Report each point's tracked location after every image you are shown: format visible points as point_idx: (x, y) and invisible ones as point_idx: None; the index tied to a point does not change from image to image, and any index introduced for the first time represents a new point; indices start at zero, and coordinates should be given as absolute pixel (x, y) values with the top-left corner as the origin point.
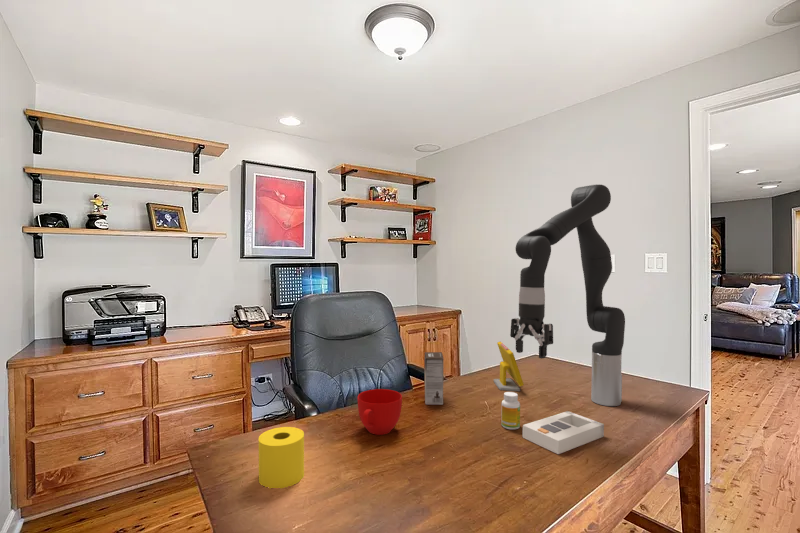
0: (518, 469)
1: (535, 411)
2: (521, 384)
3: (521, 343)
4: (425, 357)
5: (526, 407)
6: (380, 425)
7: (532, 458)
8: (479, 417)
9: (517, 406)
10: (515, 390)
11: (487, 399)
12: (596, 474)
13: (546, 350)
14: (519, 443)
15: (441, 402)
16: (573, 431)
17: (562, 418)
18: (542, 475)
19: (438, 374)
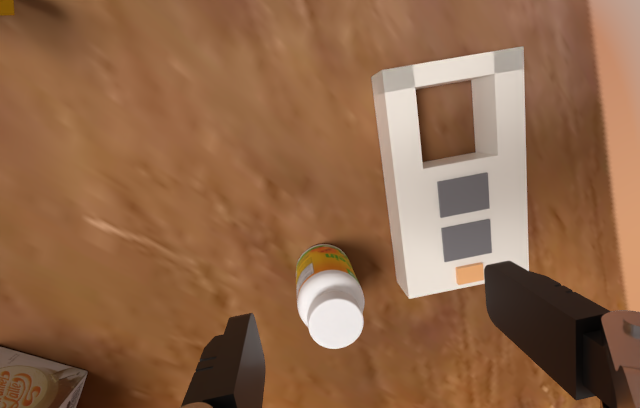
0: (508, 376)
1: (247, 110)
2: (8, 5)
3: (245, 391)
4: None
5: (200, 114)
6: None
7: (489, 324)
8: (230, 316)
9: (363, 297)
10: None
11: (74, 203)
12: (603, 246)
13: (583, 301)
14: (419, 308)
15: (82, 381)
16: (511, 191)
17: (419, 141)
18: None
19: None
